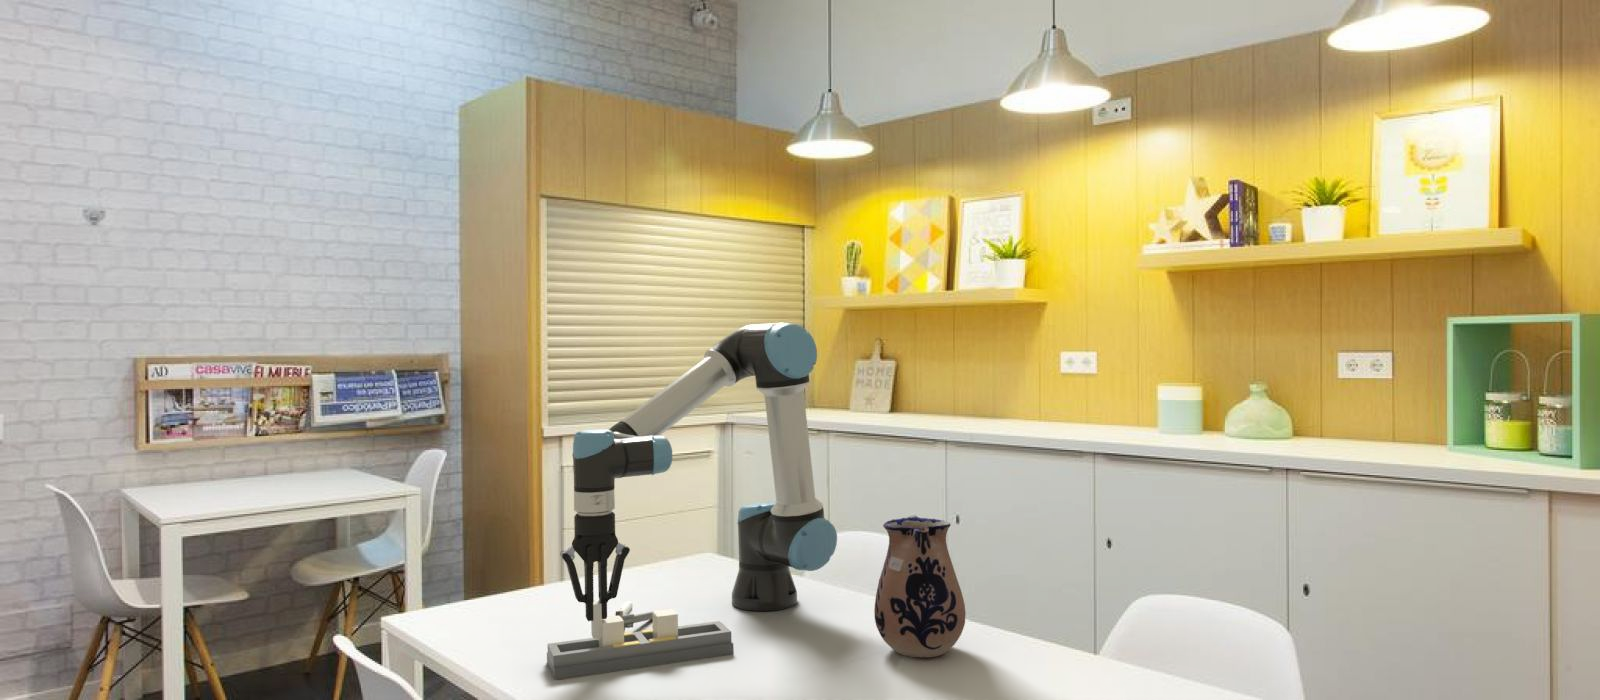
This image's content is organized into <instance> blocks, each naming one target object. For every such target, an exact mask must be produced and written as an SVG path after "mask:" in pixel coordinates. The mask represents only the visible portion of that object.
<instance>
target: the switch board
mask: <svg viewBox="0 0 1600 700" xmlns="http://www.w3.org/2000/svg"><path fill="white" fill-rule="evenodd" d="M734 649H735V648H734V643H733V642H732V631H731V630H730V629H729V628H728V627H727V626H726V625H725V624H724V623H722V621H720V620H717V621H709V622H708V621H707V622H703V623H695V624H693V623H692V624H687V625H686V624H685V625H680V626H679V625H678V636H677V637H675V636H669V637H662V638H655V639H653V628H650V629H641V631H635V632H632V631H627V632H626V631H625V632H624V643H618V644H612V645H611V646H604V647H599V639H594V638H593V637H588V638H581V639H573V640H566V641H558V642H552V643H551V642H549V643H547V652H546V664H547V667H548V669H549V670H550V673H551V675H552V677H553V680H554V679H555V680H554V681H557V680H564V679H571V678H577V677H579V678H580V677H585V676H591V675H599V674H605V673H612V672H619V671H624V670H633V669H638V668H644V667H645V668H646V667H647V668H648V667H654V666H659V664H661V665H667V663H668V664H672V663H680V662H688V661H694V660H700V659H706V658H707V659H708V658H714V657H722V656H729V655H734Z"/></svg>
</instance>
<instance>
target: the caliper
mask: <svg viewBox="0 0 1600 700" xmlns="http://www.w3.org/2000/svg"><path fill="white" fill-rule="evenodd" d="M615 614H616V615H615ZM615 614H614V615H615V616H620V617H621V618H622V619H623V621H624V633H625V632H626V631H625V630H626V628H627V629H630V628H633V627H634V624H636V623H641V622H646V621H650V620H653V618H652V611H649V612H643V613H638V614H633V613H628V614H626V615H623V611H618V610H615Z"/></svg>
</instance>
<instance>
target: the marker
mask: <svg viewBox="0 0 1600 700" xmlns="http://www.w3.org/2000/svg"><path fill="white" fill-rule="evenodd" d="M632 609H633V603H632V601H630V600H627V601H625V602H623V604H622V605H621V607H619V609H618V610H617V611H623V615H626V614H629V613H630V611H631V610H632ZM615 615H616V613H614V615H613V616H615Z"/></svg>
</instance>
